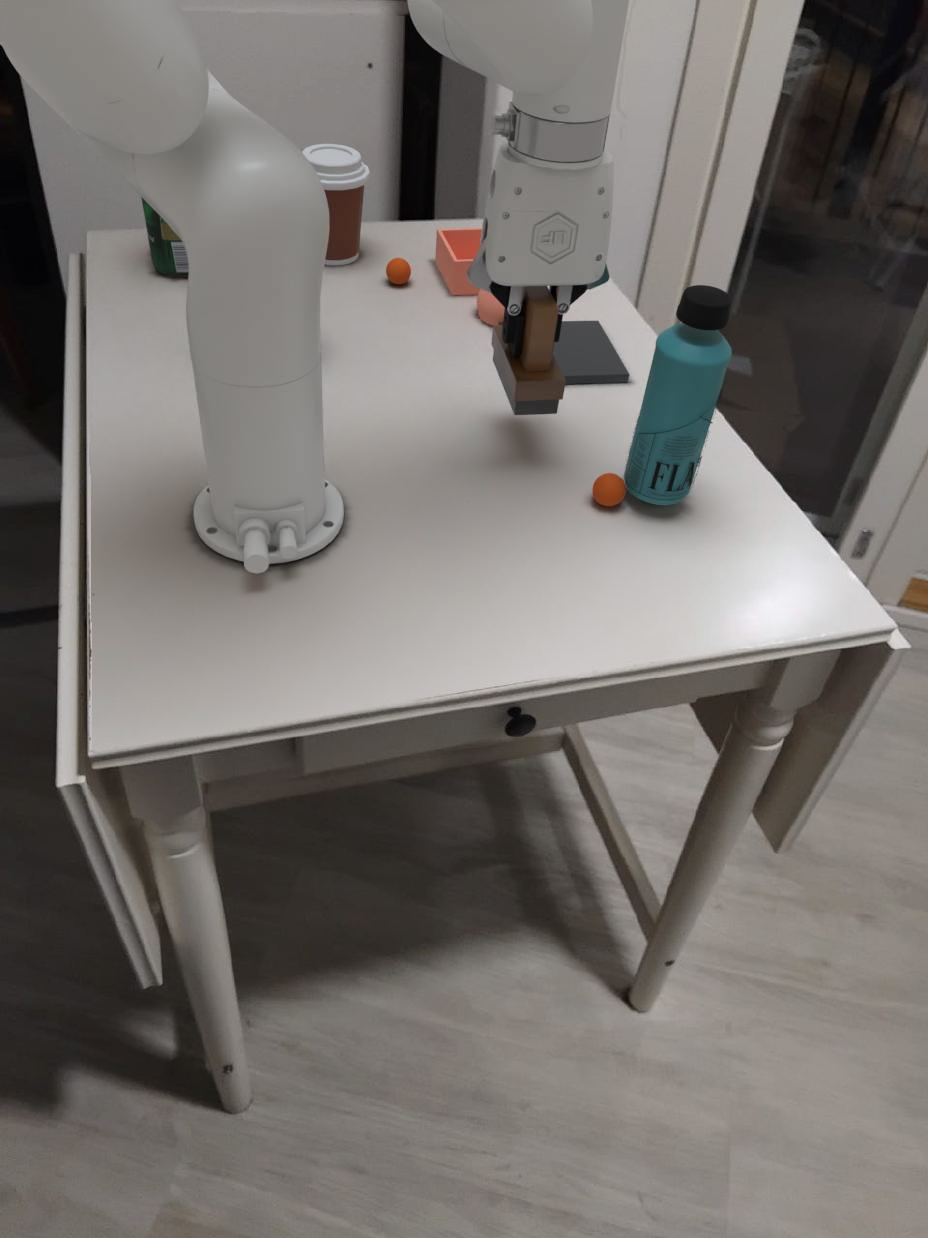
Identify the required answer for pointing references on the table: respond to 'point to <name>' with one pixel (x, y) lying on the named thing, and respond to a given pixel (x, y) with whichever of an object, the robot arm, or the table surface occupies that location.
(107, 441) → the table surface
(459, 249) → the pottery
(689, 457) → the beverage bottle
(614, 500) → the felt ball
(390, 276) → the felt ball
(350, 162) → the coffee cup
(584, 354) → the slate tile
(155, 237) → the coffee jar
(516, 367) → the brush
